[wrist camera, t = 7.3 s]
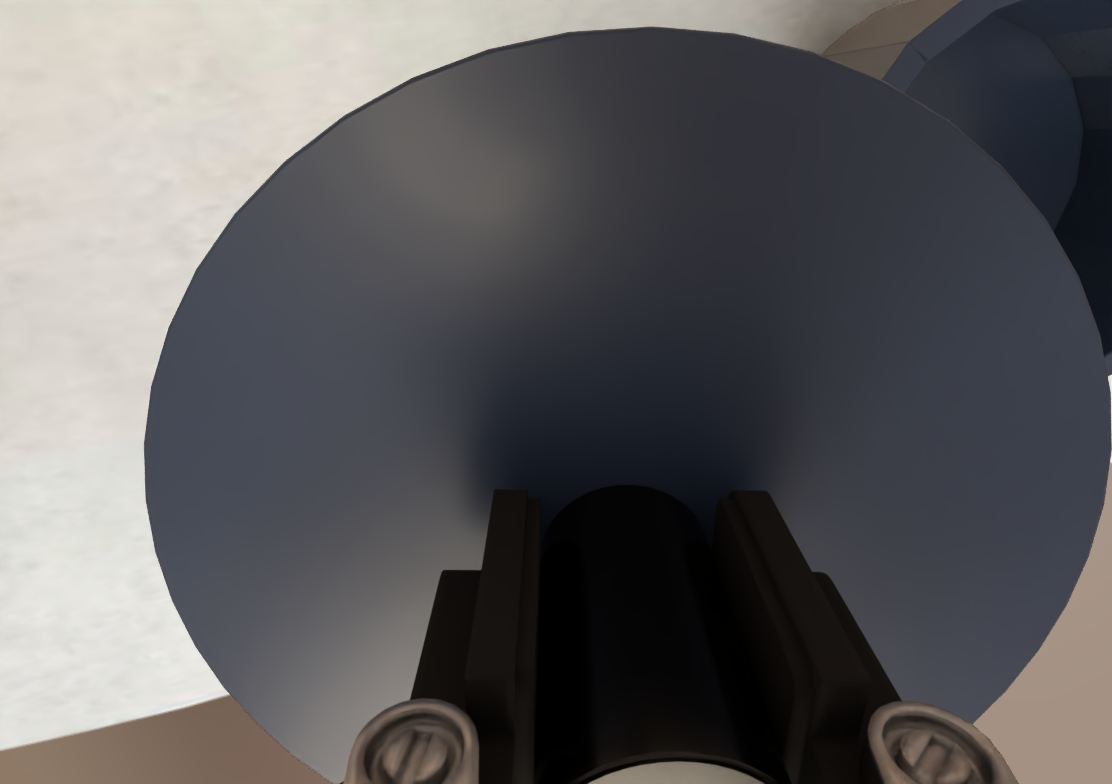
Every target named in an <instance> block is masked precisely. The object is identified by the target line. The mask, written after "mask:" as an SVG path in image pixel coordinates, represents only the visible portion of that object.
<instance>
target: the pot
mask: <svg viewBox="0 0 1112 784" xmlns="http://www.w3.org/2000/svg"><path fill="white" fill-rule="evenodd" d="M821 56H823V57H826V58H828V59H831V60H833V61H836V62H838V63H840V64H843V65H845V66H848V67H850V68H853V69H855V70H858V71H860V72H863V73H865V74H867V75H870V76H872V77H875V78H877V79H880V80H882V81H885V82H886V83H888V84H890V85H891V86H893V87H894V88H896V89H898V90H899V91H901V92H903V93H904V94H906V95H908V96H909V97H911V98H912V99H914V100H916V101H917V102H919V103H921V104H922V105H924V106H926V107H927V108H929V109H931V110H932V111H934V112H935V113H937V114H939V115H940V116H942V117H944V118H945V119H947V120H949V121H950V122H951V123H952V124H953V125H954V126H956V127H957V128H958V129H959V130H960V131H961V132H963V133H964V134H965V135H966V136H967V137H968V138H969V139H971V140H972V141H973V142H974V143H975V144H976V145H978V146H979V147H980V148H981V149H982V150H983V151H985V152H986V153H987V154H988V155H989V156H990V157H992V158H993V159H994V160H995V161H996V162H997V163H999V164H1000V165H1001V166H1002V167H1003V168H1004V169H1005V171H1006V172H1007V173H1008V174H1009V175H1010V177H1011V178H1012V179H1013V180H1014V181H1015V183H1016V184H1017V185H1018V186H1019V187H1020V189H1021V190H1022V191H1023V192H1024V193H1025V195H1026V196H1027V197H1028V198H1029V200H1030V201H1031V202H1032V203H1033V204H1034V206H1035V207H1036V208H1037V209H1038V210H1039V212H1040V213H1041V214H1042V215H1043V216H1044V218H1045V219H1046V220H1047V222H1048V224H1049V225H1050V227H1051V229H1052V231H1053V232H1054V234H1055V236H1056V238H1057V239H1058V241H1059V243H1060V245H1061V246H1062V248H1063V250H1064V252H1065V253H1066V255H1067V257H1068V259H1069V260H1070V262H1071V264H1072V266H1073V267H1074V269H1075V271H1076V273H1077V274H1078V276H1079V278H1080V281H1081V284H1082V287H1083V289H1084V292H1085V295H1086V298H1087V300H1088V303H1089V306H1090V309H1091V311H1092V314H1093V317H1094V320H1095V322H1096V325H1097V328H1098V331H1099V333H1100V338H1101V343H1102V348H1103V354H1104V359H1105V365H1106V370H1107V376H1109V375H1111V374H1112V0H906V1H904V2H901V3H898V4H895V5H893V6H890V7H888V8H885V9H882V10H879V11H877V12H875V13H873V14H872V15H871V16H869V17H868V18H867V19H866V20H864V21H863V22H861V23H860V24H858V25H857V26H855V27H854V28H852V29H850V30H849V31H848V32H846V33H845V34H844V35H843V36H842V37H840V38H839V39H838V40H837V41H836V42H835V43H833V44H832V45H831V46H830V47H829V48H828V49H827V50H826V51H825V52H824V53H823V54H822V55H821Z"/></svg>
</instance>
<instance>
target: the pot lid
mask: <svg viewBox="0 0 1112 784" xmlns="http://www.w3.org/2000/svg"><path fill="white" fill-rule="evenodd" d="M1111 450H1112V446H1111V392H1110V387H1109V381H1108V376H1107V370H1106V365H1105V359H1104V354H1103V348H1102V343H1101V338H1100V333H1099V331H1098V328H1097V325H1096V322H1095V320H1094V317H1093V314H1092V311H1091V309H1090V306H1089V303H1088V300H1087V298H1086V295H1085V292H1084V289H1083V287H1082V284H1081V281H1080V278H1079V276H1078V274H1077V273H1076V271H1075V269H1074V267H1073V266H1072V264H1071V262H1070V260H1069V259H1068V257H1067V255H1066V253H1065V252H1064V250H1063V248H1062V246H1061V245H1060V243H1059V241H1058V239H1057V238H1056V236H1055V234H1054V232H1053V231H1052V229H1051V227H1050V225H1049V224H1048V222H1047V220H1046V219H1045V218H1044V216H1043V215H1042V214H1041V213H1040V212H1039V210H1038V209H1037V208H1036V207H1035V206H1034V204H1033V203H1032V202H1031V201H1030V200H1029V198H1028V197H1027V196H1026V195H1025V193H1024V192H1023V191H1022V190H1021V189H1020V187H1019V186H1018V185H1017V184H1016V183H1015V181H1014V180H1013V179H1012V178H1011V177H1010V175H1009V174H1008V173H1007V172H1006V171H1005V169H1004V168H1003V167H1002V166H1001V165H1000V164H999V163H997V162H996V161H995V160H994V159H993V158H992V157H990V156H989V155H988V154H987V153H986V152H985V151H983V150H982V149H981V148H980V147H979V146H978V145H976V144H975V143H974V142H973V141H972V140H971V139H969V138H968V137H967V136H966V135H965V134H964V133H963V132H961V131H960V130H959V129H958V128H957V127H956V126H954V125H953V124H952V123H951V122H950V121H949V120H947V119H945V118H944V117H942V116H940V115H939V114H937V113H935V112H934V111H932V110H931V109H929V108H927V107H926V106H924V105H922V104H921V103H919V102H917V101H916V100H914V99H912V98H911V97H909V96H908V95H906V94H904V93H903V92H901V91H899V90H898V89H896V88H894V87H893V86H891V85H890V84H888V83H886V82H885V81H882V80H880V79H877V78H875V77H872V76H870V75H867V74H865V73H863V72H860V71H858V70H855V69H853V68H850V67H848V66H845V65H843V64H840V63H838V62H836V61H833V60H831V59H828V58H826V57H823V56H821V55H818V54H816V53H814V52H810V51H806V50H802V49H798V48H793V47H789V46H785V45H781V44H776V43H772V42H768V41H764V40H760V39H755V38H751V37H747V36H743V35H739V34H734V33H723V32H711V31H699V30H687V29H675V28H663V27H638V28H623V29H608V30H592V31H577V32H567V33H562V34H558V35H553V36H548V37H544V38H539V39H534V40H530V41H525V42H520V43H516V44H511V45H506V46H502V47H497V48H492V49H488V50H485V51H483V52H480V53H477V54H475V55H472V56H469V57H467V58H464V59H461V60H459V61H456V62H453V63H451V64H448V65H445V66H443V67H440V68H437V69H435V70H432V71H429V72H427V73H424V74H421V75H419V76H416V77H413V78H411V79H409V80H408V81H406V82H404V83H402V84H400V85H399V86H397V87H395V88H393V89H391V90H390V91H388V92H386V93H384V94H382V95H381V96H379V97H377V98H375V99H373V100H372V101H370V102H368V103H366V104H364V105H363V106H361V107H359V108H357V109H355V110H354V111H352V112H350V113H348V114H346V115H344V116H343V117H342V118H341V119H339V120H338V121H337V122H335V123H334V124H333V125H331V126H330V127H329V128H328V129H326V130H325V131H324V132H322V133H321V134H320V135H318V136H317V137H316V138H315V139H313V140H312V141H311V142H309V143H308V144H307V145H305V146H304V147H303V148H302V149H300V150H299V151H298V152H296V153H295V154H294V155H292V156H291V157H290V158H289V159H287V160H286V161H285V162H284V163H283V164H282V165H281V166H280V167H279V168H278V169H277V170H276V171H275V172H274V173H273V174H272V175H271V176H270V177H269V178H268V179H267V181H266V182H265V183H264V184H263V185H262V186H261V187H260V188H259V189H258V190H257V191H256V192H255V193H254V194H253V195H252V196H251V197H250V198H249V199H248V200H247V201H246V203H245V204H244V205H243V206H242V207H241V208H240V209H239V210H238V211H237V212H236V213H235V214H234V216H233V217H232V219H231V220H230V222H229V223H228V224H227V226H226V227H225V229H224V230H223V232H222V233H221V235H220V236H219V237H218V239H217V240H216V242H215V243H214V245H213V246H212V248H211V249H210V250H209V252H208V253H207V255H206V256H205V258H204V259H203V261H202V262H201V263H200V265H199V266H198V268H197V269H196V271H195V274H194V276H193V278H192V280H191V282H190V284H189V286H188V288H187V290H186V292H185V294H184V296H183V299H182V301H181V303H180V305H179V307H178V309H177V311H176V313H175V315H174V317H173V319H172V322H171V324H170V326H169V328H168V332H167V335H166V339H165V342H164V345H163V349H162V352H161V355H160V359H159V362H158V366H157V369H156V372H155V376H154V379H153V383H152V386H151V394H150V401H149V409H148V417H147V425H146V433H145V441H144V459H145V492H146V504H147V509H148V514H149V520H150V525H151V530H152V536H153V541H154V547H155V552H156V555H157V558H158V561H159V564H160V567H161V569H162V572H163V575H164V578H165V581H166V584H167V587H168V590H169V593H170V596H171V599H172V601H173V603H174V605H175V607H176V609H177V611H178V613H179V615H180V617H181V619H182V621H183V623H184V625H185V627H186V629H187V631H188V633H189V635H190V637H191V639H192V641H193V643H194V645H195V646H196V648H197V649H198V651H199V652H200V654H201V655H202V657H203V658H204V659H205V661H206V662H207V664H208V665H209V667H210V668H211V670H212V671H213V672H214V674H215V675H216V677H217V678H218V680H219V681H220V683H221V684H222V686H223V687H224V688H225V689H226V690H227V692H228V693H229V694H230V695H231V696H232V697H233V698H234V699H235V700H236V701H237V702H238V704H239V705H240V706H241V707H242V708H243V709H244V711H245V712H246V713H247V714H248V715H249V716H250V717H251V718H252V719H253V720H254V722H255V723H256V724H257V725H258V726H259V727H261V728H262V729H263V730H264V731H265V732H266V733H267V734H269V735H270V736H271V737H272V738H273V739H274V740H275V741H276V742H277V743H279V744H280V745H281V746H282V747H283V748H284V749H286V750H287V751H288V752H289V753H290V754H291V755H292V756H293V757H295V758H296V759H298V760H299V761H301V762H302V763H303V764H305V765H306V766H308V767H309V768H311V769H312V770H313V771H315V772H316V773H318V774H319V775H320V776H322V777H324V778H325V779H326V780H328V781H329V782H331V783H332V784H340V783H341V782H343V781H344V778H345V774H346V769H347V764H348V760H349V755H350V752H351V749H352V747H353V744H354V742H355V739H356V737H357V735H358V734H359V733H360V732H361V730H362V729H363V728H364V727H365V725H366V724H367V723H368V722H369V721H370V720H371V719H372V718H374V717H375V716H376V715H378V714H379V713H380V712H382V711H383V710H384V709H387V708H389V707H391V706H393V705H396V704H398V703H400V702H403V701H408V700H410V698H411V694H412V689H413V685H414V681H415V677H416V673H417V669H418V665H419V661H420V657H421V652H422V648H423V644H424V640H425V636H426V632H427V628H428V624H429V620H430V615H431V611H432V607H433V603H434V599H435V595H436V591H437V587H438V583H439V579H440V576H441V572H442V571H443V570H481V569H482V562H483V556H484V550H485V543H486V537H487V531H488V524H489V518H490V512H491V505H492V499H493V493H494V489H528V498H541V570H540V603H539V635H538V668H537V700H536V732H535V765H534V778H533V784H792V783H791V780H790V777H789V774H788V771H787V768H786V765H785V763H784V760H783V757H782V754H781V751H780V748H779V745H778V742H777V740H776V737H775V734H774V731H773V728H772V725H771V722H770V720H769V717H768V714H767V711H766V708H765V705H764V702H763V699H762V697H761V694H760V691H759V688H758V685H757V682H756V679H755V677H754V674H753V671H752V668H751V665H750V662H749V659H748V656H747V654H746V651H745V648H744V645H743V642H742V639H741V636H740V634H739V631H738V628H737V625H736V622H735V619H734V616H733V613H732V611H731V608H730V605H729V602H728V599H727V596H726V593H725V591H724V588H723V585H722V582H721V579H720V576H719V573H718V570H717V568H716V565H715V562H714V559H713V556H712V553H711V550H712V541H713V533H714V524H715V515H716V507H717V503H718V500H719V499H728V497H729V494H730V492H731V491H732V490H746V491H767V492H768V493H769V494H770V496H771V498H772V499H773V501H774V503H775V505H776V507H777V509H778V510H779V512H780V514H781V516H782V518H783V519H784V521H785V523H786V525H787V527H788V529H789V530H790V532H791V534H792V536H793V538H794V540H795V541H796V543H797V545H798V547H799V549H800V550H801V552H802V554H803V556H804V558H805V560H806V561H807V563H808V565H809V567H810V569H811V571H812V572H823V573H825V574H827V575H828V576H829V577H830V578H831V580H832V581H833V583H834V584H835V586H836V588H837V590H838V591H839V593H840V595H841V597H842V598H843V600H844V602H845V603H846V605H847V607H848V609H849V610H850V612H851V614H852V615H853V617H854V619H855V621H856V622H857V624H858V626H859V628H860V629H861V631H862V633H863V634H864V636H865V638H866V640H867V641H868V643H869V645H870V647H871V648H872V650H873V652H874V653H875V655H876V657H877V659H878V660H879V662H880V664H881V665H882V667H883V669H884V671H885V672H886V674H887V676H888V678H889V679H890V681H891V683H892V684H893V686H894V688H895V690H896V691H897V693H898V695H899V697H900V698H901V700H902V701H917V702H922V703H928V704H932V705H935V706H937V707H940V708H942V709H945V710H948V711H950V712H953V713H954V714H956V715H958V716H959V717H961V718H963V719H964V720H966V721H968V722H969V723H971V724H973V723H974V722H975V721H976V720H977V719H978V718H979V717H980V716H981V715H982V714H983V713H984V712H985V711H986V710H987V709H988V708H989V707H990V706H991V705H992V704H993V703H994V702H995V701H996V700H997V699H998V698H999V697H1000V696H1001V695H1002V694H1003V693H1004V692H1005V691H1006V690H1007V689H1008V688H1009V687H1010V685H1011V684H1012V683H1013V682H1014V680H1015V679H1016V678H1017V677H1018V675H1019V674H1020V673H1021V672H1022V670H1023V669H1024V668H1025V667H1026V665H1027V664H1028V663H1029V662H1030V660H1031V659H1032V658H1033V657H1034V656H1035V654H1036V653H1037V652H1038V650H1039V649H1040V647H1041V646H1042V644H1043V642H1044V641H1045V639H1046V638H1047V636H1048V634H1049V633H1050V631H1051V630H1052V628H1053V626H1054V625H1055V623H1056V622H1057V620H1058V618H1059V617H1060V615H1061V613H1062V612H1063V610H1064V608H1065V607H1066V605H1067V603H1068V601H1069V599H1070V597H1071V594H1072V592H1073V590H1074V588H1075V586H1076V583H1077V581H1078V579H1079V577H1080V574H1081V572H1082V570H1083V568H1084V566H1085V564H1086V561H1087V559H1088V557H1089V553H1090V550H1091V547H1092V543H1093V540H1094V536H1095V533H1096V530H1097V526H1098V523H1099V520H1100V516H1101V513H1102V509H1103V506H1104V500H1105V493H1106V486H1107V479H1108V471H1109V465H1110V457H1111Z"/></svg>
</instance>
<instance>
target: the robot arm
mask: <svg viewBox="0 0 1112 784" xmlns="http://www.w3.org/2000/svg"><path fill="white" fill-rule="evenodd" d="M711 553H712V556H713V559H714V562H715V565H716V568H717V570H718V573H719V576H720V579H721V582H722V585H723V588H724V591H725V593H726V596H727V599H728V602H729V605H730V608H731V611H732V613H733V616H734V619H735V622H736V625H737V628H738V631H739V634H740V636H741V639H742V642H743V645H744V648H745V651H746V654H747V656H748V659H749V662H750V665H751V668H752V671H753V674H754V677H755V679H756V682H757V685H758V688H759V691H760V694H761V697H762V699H763V702H764V705H765V708H766V711H767V714H768V717H769V720H770V722H771V725H772V728H773V731H774V734H775V737H776V740H777V742H778V745H779V748H780V751H781V754H782V757H783V760H784V763H785V765H786V768H787V771H788V774H789V777H790V780H791V783H792V784H1019V783H1018V782H1017V780H1016V778H1015V777H1014V775H1013V773H1012V771H1011V770H1010V768H1009V766H1008V765H1007V763H1006V761H1005V760H1004V758H1003V756H1002V755H1001V754H1000V752H999V751H998V750H997V748H996V747H995V746H994V745H993V743H992V742H991V741H990V739H989V738H987V737H986V736H985V735H984V734H983V733H981V732H980V731H979V730H978V729H977V728H976V727H975V726H974V725H972V724H971V723H969V722H968V721H966V720H964V719H963V718H961V717H959V716H958V715H956V714H954V713H953V712H950V711H948V710H945V709H942V708H940V707H937V706H935V705H932V704H928V703H922V702H917V701H902V700H901V698H900V697H899V695H898V693H897V691H896V690H895V688H894V686H893V684H892V683H891V681H890V679H889V678H888V676H887V674H886V672H885V671H884V669H883V667H882V665H881V664H880V662H879V660H878V659H877V657H876V655H875V653H874V652H873V650H872V648H871V647H870V645H869V643H868V641H867V640H866V638H865V636H864V634H863V633H862V631H861V629H860V628H859V626H858V624H857V622H856V621H855V619H854V617H853V615H852V614H851V612H850V610H849V609H848V607H847V605H846V603H845V602H844V600H843V598H842V597H841V595H840V593H839V591H838V590H837V588H836V586H835V584H834V583H833V581H832V580H831V578H830V577H829V576H828V575H827V574H825V573H823V572H812V571H811V569H810V567H809V565H808V563H807V561H806V560H805V558H804V556H803V554H802V552H801V550H800V549H799V547H798V545H797V543H796V541H795V540H794V538H793V536H792V534H791V532H790V530H789V529H788V527H787V525H786V523H785V521H784V519H783V518H782V516H781V514H780V512H779V510H778V509H777V507H776V505H775V503H774V501H773V499H772V498H771V496H770V494H769V493H768V492H767V491H746V490H732V491H731V492H730V494H729V497H728V499H719V500H718V503H717V507H716V515H715V524H714V533H713V541H712V550H711ZM540 570H541V498H528V489H494V493H493V499H492V505H491V512H490V518H489V524H488V531H487V537H486V543H485V550H484V556H483V562H482V569H481V570H443V571H442V572H441V576H440V579H439V583H438V587H437V591H436V595H435V599H434V603H433V607H432V611H431V615H430V620H429V624H428V628H427V632H426V636H425V640H424V644H423V648H422V652H421V657H420V661H419V665H418V669H417V673H416V677H415V681H414V685H413V689H412V694H411V698H410V700H408V701H403V702H400V703H398V704H396V705H393V706H391V707H389V708H387V709H384V710H383V711H382V712H380V713H379V714H378V715H376V716H375V717H374V718H372V719H371V720H370V721H369V722H368V723H367V724H366V725H365V727H364V728H363V729H362V730H361V732H360V733H359V734H358V735H357V737H356V739H355V742H354V744H353V747H352V749H351V752H350V755H349V760H348V764H347V769H346V774H345V778H344V781H343V782H341V783H340V784H533V778H534V765H535V732H536V700H537V668H538V635H539V603H540Z"/></svg>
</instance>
